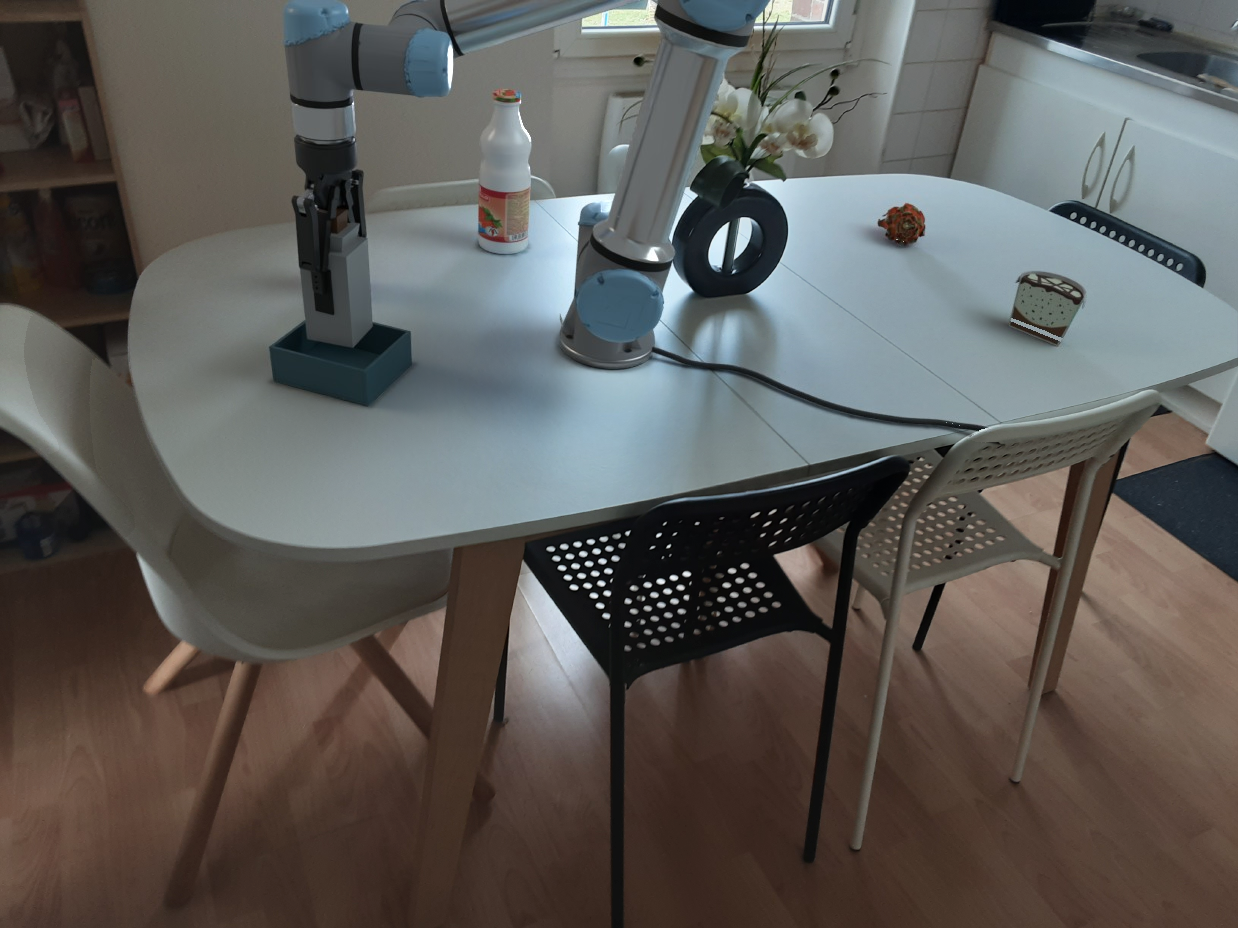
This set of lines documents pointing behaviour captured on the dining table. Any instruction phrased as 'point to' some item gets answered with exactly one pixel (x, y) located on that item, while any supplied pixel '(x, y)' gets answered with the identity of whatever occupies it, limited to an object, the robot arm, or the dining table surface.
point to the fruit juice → (504, 178)
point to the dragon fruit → (903, 224)
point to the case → (342, 363)
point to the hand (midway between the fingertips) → (338, 302)
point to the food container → (1046, 303)
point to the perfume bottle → (342, 288)
